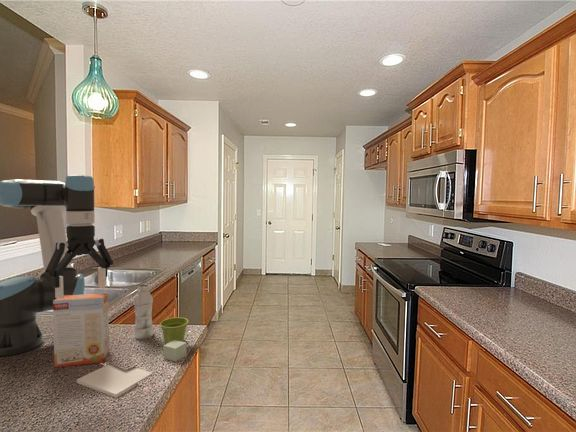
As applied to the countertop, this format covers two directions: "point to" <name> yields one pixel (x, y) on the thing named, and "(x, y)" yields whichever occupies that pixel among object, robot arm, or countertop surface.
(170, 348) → the sage block
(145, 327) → the plastic bottle
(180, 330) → the plant pot
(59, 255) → the robot arm
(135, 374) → the board
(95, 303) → the cracker box
